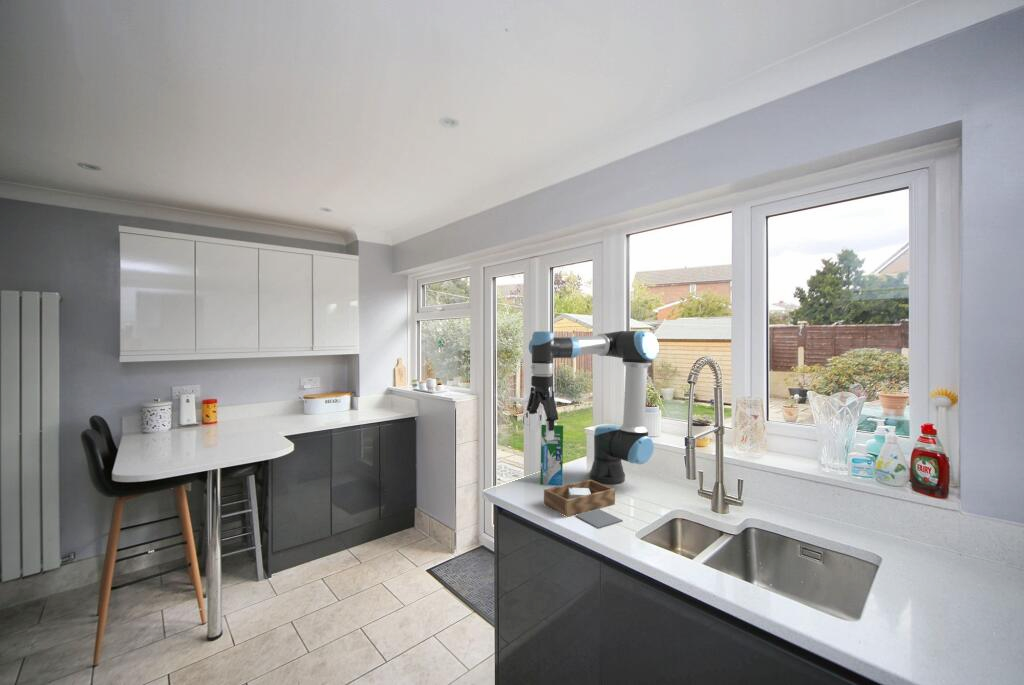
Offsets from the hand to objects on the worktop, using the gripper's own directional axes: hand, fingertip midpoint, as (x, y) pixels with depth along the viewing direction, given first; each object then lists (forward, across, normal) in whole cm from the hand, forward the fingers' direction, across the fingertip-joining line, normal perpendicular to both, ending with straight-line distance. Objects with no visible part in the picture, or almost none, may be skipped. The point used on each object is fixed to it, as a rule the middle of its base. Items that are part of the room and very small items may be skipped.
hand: (541, 435), depth 150 cm
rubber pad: (+26, +13, +16) cm, 33 cm away
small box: (+27, 0, +16) cm, 31 cm away
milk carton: (+27, -27, +18) cm, 42 cm away
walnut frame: (+26, 0, +16) cm, 31 cm away
